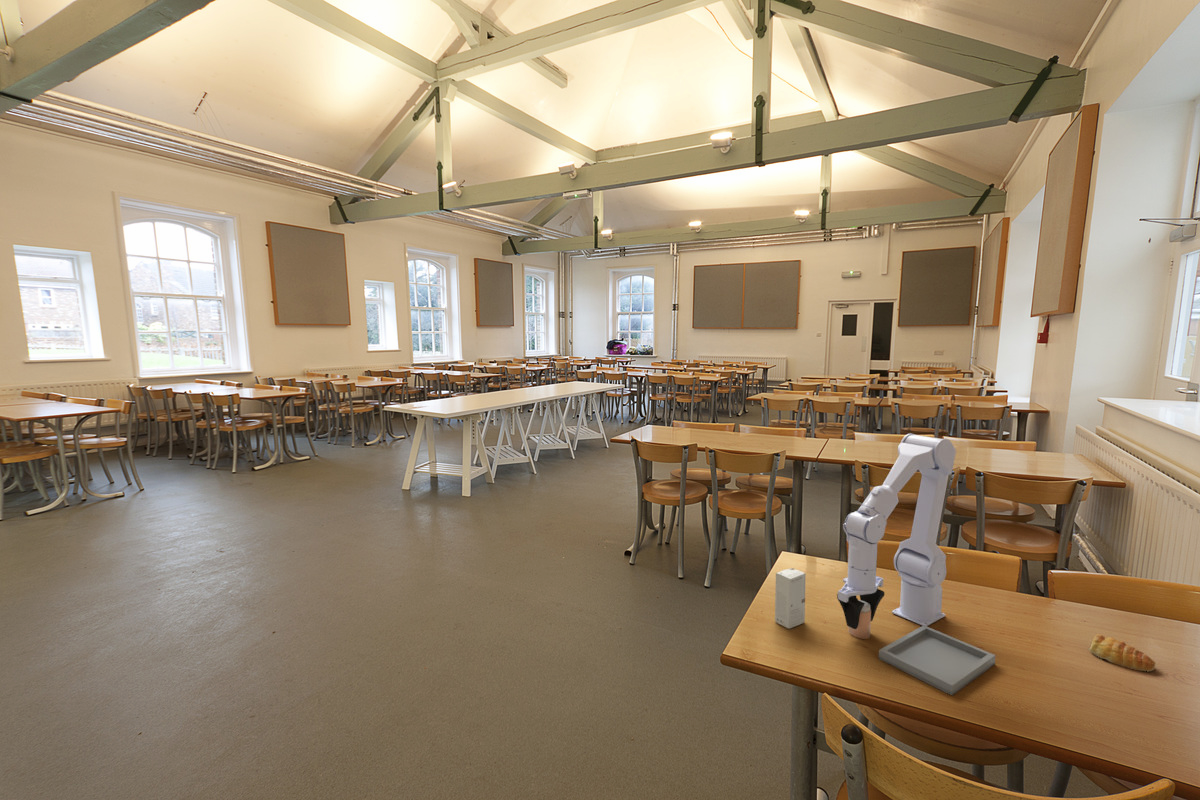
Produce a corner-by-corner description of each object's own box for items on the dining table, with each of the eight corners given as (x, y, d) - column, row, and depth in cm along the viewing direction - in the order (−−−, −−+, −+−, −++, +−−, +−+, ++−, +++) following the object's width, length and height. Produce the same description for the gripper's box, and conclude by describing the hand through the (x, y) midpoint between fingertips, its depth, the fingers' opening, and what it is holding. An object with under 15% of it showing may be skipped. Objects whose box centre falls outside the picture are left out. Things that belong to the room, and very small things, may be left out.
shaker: (855, 626, 123) (857, 597, 123) (874, 634, 120) (875, 605, 119) (844, 631, 121) (845, 602, 120) (862, 640, 117) (864, 610, 117)
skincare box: (789, 629, 122) (790, 579, 121) (773, 621, 126) (774, 572, 125) (805, 622, 126) (807, 573, 124) (789, 614, 129) (791, 566, 128)
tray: (923, 633, 120) (923, 625, 120) (994, 664, 108) (995, 655, 108) (878, 658, 110) (879, 649, 110) (951, 695, 99) (952, 685, 98)
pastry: (1158, 666, 107) (1159, 649, 107) (1149, 678, 104) (1151, 660, 103) (1096, 645, 115) (1098, 628, 115) (1086, 655, 111) (1087, 638, 111)
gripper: (863, 553, 126) (861, 607, 127) (826, 566, 118) (824, 624, 120) (893, 563, 120) (890, 619, 121) (855, 578, 112) (853, 638, 114)
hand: (859, 623), depth 120 cm, fingers open, 5 cm apart
